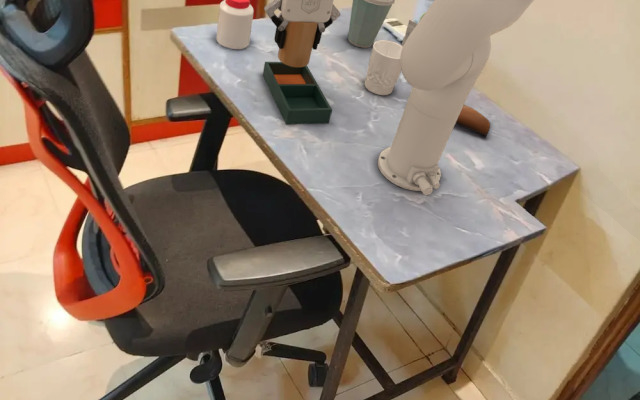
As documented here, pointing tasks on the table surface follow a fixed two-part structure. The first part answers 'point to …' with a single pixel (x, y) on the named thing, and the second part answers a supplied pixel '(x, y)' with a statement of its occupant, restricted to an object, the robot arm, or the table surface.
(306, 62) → the wooden cup
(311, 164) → the table surface
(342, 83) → the table surface
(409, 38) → the robot arm
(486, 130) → the sunglasses case
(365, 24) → the disposable coffee cup
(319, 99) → the divided tray
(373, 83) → the white cup
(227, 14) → the pill bottle
